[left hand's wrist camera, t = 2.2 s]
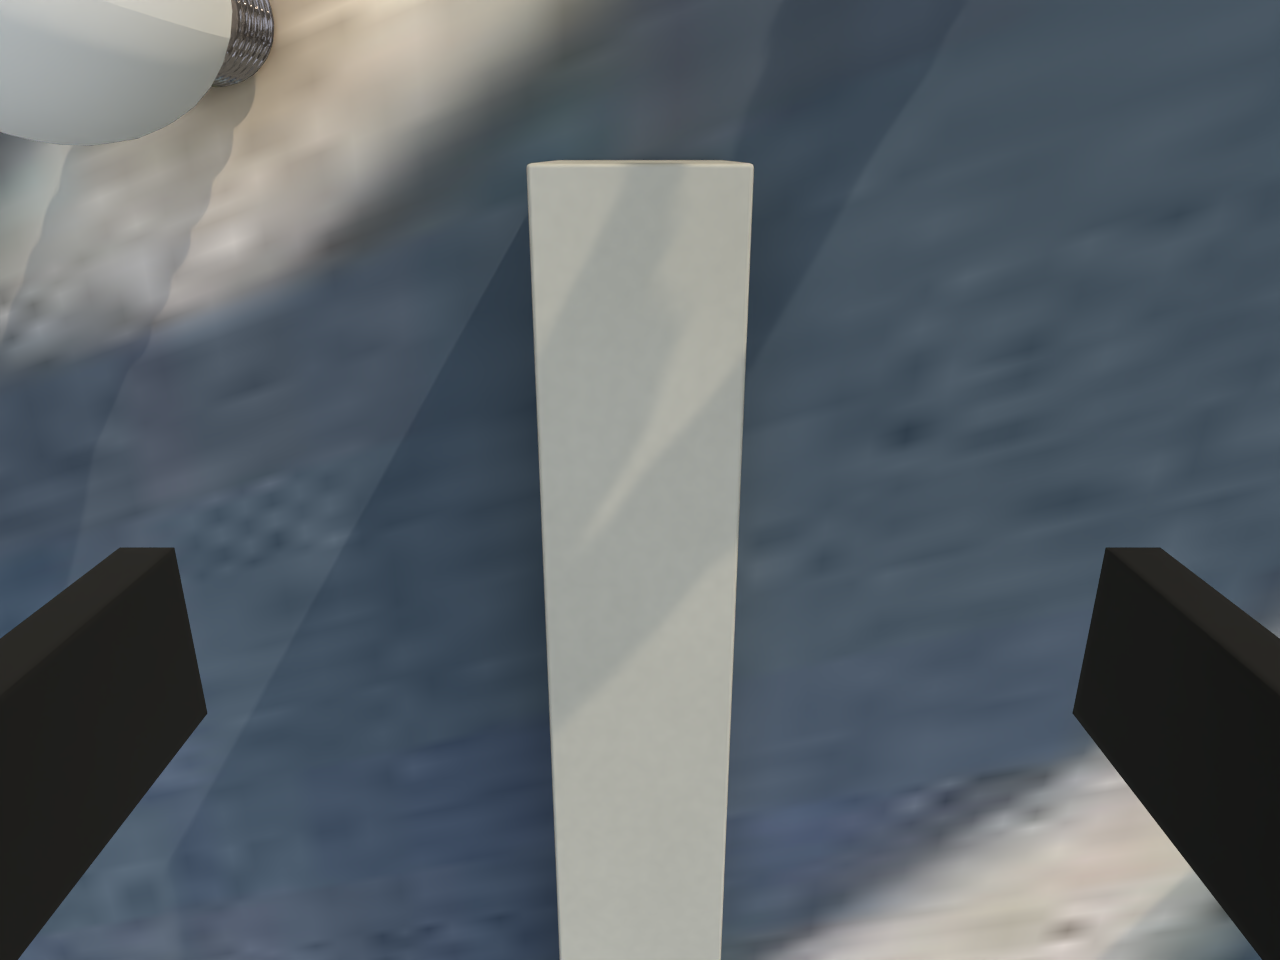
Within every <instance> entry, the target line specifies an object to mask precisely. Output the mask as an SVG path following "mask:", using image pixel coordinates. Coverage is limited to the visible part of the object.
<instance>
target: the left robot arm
mask: <svg viewBox="0 0 1280 960" xmlns="http://www.w3.org/2000/svg"><path fill="white" fill-rule="evenodd" d="M206 714H207V709H206V704H205V699H204V694H203V689H202V684H201V679H200V674H199V669H198V664H197V659H196V654H195V649H194V644H193V639H192V634H191V629H190V624H189V619H188V614H187V609H186V604H185V599H184V594H183V589H182V584H181V579H180V574H179V569H178V564H177V559H176V554H175V549H174V548H119V549H117V550H116V551H115V552H113V553H112V554H111V555H110V556H108V557H107V558H106V559H104V560H103V561H102V562H100V563H99V564H98V565H96V566H95V567H94V568H92V569H91V570H90V571H89V572H87V573H86V574H85V575H83V576H82V577H81V578H79V579H78V580H77V581H75V582H74V583H73V584H72V585H70V586H69V587H68V588H66V589H65V590H64V591H62V592H61V593H60V594H58V595H57V596H56V597H54V598H53V599H52V600H51V601H49V602H48V603H47V604H45V605H44V606H43V607H41V608H40V609H39V610H37V611H36V612H35V613H33V614H32V615H31V616H30V617H28V618H27V619H26V620H24V621H23V622H22V623H20V624H19V625H18V626H16V627H15V628H14V629H12V630H11V631H10V632H9V633H7V634H6V635H5V636H3V637H2V638H1V639H0V960H18V959H19V957H20V956H21V955H22V953H23V952H24V951H25V950H26V948H27V947H28V946H29V944H30V943H31V942H32V940H33V939H34V938H35V937H36V935H37V934H38V933H39V931H40V930H41V929H42V927H43V926H44V925H45V924H46V922H47V921H48V920H49V918H50V917H51V916H52V914H53V913H54V912H55V911H56V909H57V908H58V907H59V905H60V904H61V903H62V901H63V900H64V899H65V898H66V896H67V895H68V894H69V892H70V891H71V890H72V888H73V887H74V886H75V885H76V883H77V882H78V881H79V879H80V878H81V877H82V875H83V874H84V873H85V872H86V870H87V869H88V868H89V866H90V865H91V864H92V862H93V861H94V860H95V859H96V857H97V856H98V855H99V853H100V852H101V851H102V849H103V848H104V847H105V846H106V844H107V843H108V842H109V840H110V839H111V838H112V836H113V835H114V834H115V833H116V831H117V830H118V829H119V827H120V826H121V825H122V824H123V822H124V821H125V820H126V818H127V817H128V816H129V814H130V813H131V812H132V811H133V809H134V808H135V807H136V805H137V804H138V803H139V801H140V800H141V799H142V798H143V796H144V795H145V794H146V792H147V791H148V790H149V788H150V787H151V786H152V785H153V783H154V782H155V781H156V779H157V778H158V777H159V775H160V774H161V773H162V772H163V770H164V769H165V768H166V766H167V765H168V764H169V762H170V761H171V760H172V759H173V757H174V756H175V755H176V753H177V752H178V751H179V749H180V748H181V747H182V746H183V744H184V743H185V742H186V740H187V739H188V738H189V736H190V735H191V734H192V733H193V731H194V730H195V729H196V727H197V726H198V725H199V723H200V722H201V721H202V720H203V718H204V717H205V716H206ZM1073 714H1074V716H1075V717H1076V718H1077V720H1078V721H1079V722H1080V723H1081V725H1082V726H1083V727H1084V729H1085V730H1086V731H1087V733H1088V734H1089V735H1090V736H1091V738H1092V739H1093V740H1094V742H1095V743H1096V744H1097V746H1098V747H1099V748H1100V749H1101V751H1102V752H1103V753H1104V755H1105V756H1106V757H1107V759H1108V760H1109V761H1110V762H1111V764H1112V765H1113V766H1114V768H1115V769H1116V770H1117V772H1118V773H1119V774H1120V775H1121V777H1122V778H1123V779H1124V781H1125V782H1126V783H1127V785H1128V786H1129V787H1130V788H1131V790H1132V791H1133V792H1134V794H1135V795H1136V796H1137V798H1138V799H1139V800H1140V801H1141V803H1142V804H1143V805H1144V807H1145V808H1146V809H1147V811H1148V812H1149V813H1150V814H1151V816H1152V817H1153V818H1154V820H1155V821H1156V822H1157V824H1158V825H1159V826H1160V827H1161V829H1162V830H1163V831H1164V833H1165V834H1166V835H1167V836H1168V838H1169V839H1170V840H1171V842H1172V843H1173V844H1174V846H1175V847H1176V848H1177V849H1178V851H1179V852H1180V853H1181V855H1182V856H1183V857H1184V859H1185V860H1186V861H1187V862H1188V864H1189V865H1190V866H1191V868H1192V869H1193V870H1194V872H1195V873H1196V874H1197V875H1198V877H1199V878H1200V879H1201V881H1202V882H1203V883H1204V885H1205V886H1206V887H1207V888H1208V890H1209V891H1210V892H1211V894H1212V895H1213V896H1214V898H1215V899H1216V900H1217V901H1218V903H1219V904H1220V905H1221V907H1222V908H1223V909H1224V911H1225V912H1226V913H1227V914H1228V916H1229V917H1230V918H1231V920H1232V921H1233V922H1234V924H1235V925H1236V926H1237V927H1238V929H1239V930H1240V931H1241V933H1242V934H1243V935H1244V937H1245V938H1246V939H1247V940H1248V942H1249V943H1250V944H1251V946H1252V947H1253V948H1254V950H1255V951H1256V952H1257V953H1258V955H1259V956H1260V957H1261V959H1262V960H1280V639H1279V638H1278V637H1277V636H1275V635H1274V634H1273V633H1271V632H1270V631H1269V630H1268V629H1266V628H1265V627H1264V626H1262V625H1261V624H1260V623H1258V622H1257V621H1256V620H1254V619H1253V618H1252V617H1250V616H1249V615H1248V614H1247V613H1245V612H1244V611H1243V610H1241V609H1240V608H1239V607H1237V606H1236V605H1235V604H1233V603H1232V602H1231V601H1229V600H1228V599H1227V598H1226V597H1224V596H1223V595H1222V594H1220V593H1219V592H1218V591H1216V590H1215V589H1214V588H1212V587H1211V586H1210V585H1208V584H1207V583H1206V582H1205V581H1203V580H1202V579H1201V578H1199V577H1198V576H1197V575H1195V574H1194V573H1193V572H1191V571H1190V570H1189V569H1187V568H1186V567H1185V566H1184V565H1182V564H1181V563H1180V562H1178V561H1177V560H1176V559H1174V558H1173V557H1172V556H1170V555H1169V554H1168V553H1167V552H1165V551H1164V550H1163V549H1161V548H1106V549H1105V554H1104V559H1103V564H1102V569H1101V574H1100V579H1099V584H1098V589H1097V594H1096V599H1095V604H1094V609H1093V614H1092V619H1091V624H1090V629H1089V634H1088V639H1087V644H1086V649H1085V654H1084V659H1083V664H1082V669H1081V674H1080V679H1079V684H1078V689H1077V694H1076V699H1075V704H1074V709H1073Z"/></svg>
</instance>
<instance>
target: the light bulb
mask: <svg viewBox="0 0 1280 960" xmlns="http://www.w3.org/2000/svg"><path fill="white" fill-rule="evenodd" d="M273 34H274V21H273V15H272V10H271V6H270V3H269V0H0V132H2V133H5V134H9V135H13V136H17V137H21V138H26V139H30V140H34V141H39V142H46V143H53V144H61V145H83V146H92V145H100V144H107V143H114V142H120V141H125V140H131V139H137V138H140V137H142V136H145V135H147V134H149V133H152V132H154V131H156V130H159V129H161V128H163V127H165V126H167V125H169V124H170V123H172V122H174V121H175V120H177V119H178V118H179V117H181V116H182V115H184V114H185V113H186V112H188V111H189V110H190V109H192V108H193V107H194V106H195V105H196V104H197V103H198V102H199V100H200V99H201V98H202V97H203V96H204V95H205V93H206V92H207V91H208V90H209V89H210V87H211V86H212V87H216V86H229V85H233V84H236V83H239V82H242V81H244V80H245V79H247V78H249V77H250V76H252V75H253V74H254V73H256V72H257V71H258V69H259V68H260V67H261V66H262V65H263V63H264V62H265V60H266V59H267V57H268V54H269V52H270V49H271V46H272V42H273Z"/></svg>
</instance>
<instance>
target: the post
mask: <svg viewBox="0 0 1280 960" xmlns="http://www.w3.org/2000/svg"><path fill="white" fill-rule="evenodd" d="M753 175H754V167H753V165H752V164H750V163H742V162H733V161H724V160H556V161H547V162H538V163H530V164H528V165H527V188H528V212H529V236H530V260H531V284H532V308H533V331H534V355H535V379H536V403H537V427H538V451H539V475H540V499H541V523H542V547H543V570H544V594H545V618H546V642H547V666H548V690H549V714H550V738H551V762H552V786H553V810H554V833H555V857H556V881H557V905H558V929H559V953H560V960H721V937H722V914H723V890H724V866H725V842H726V818H727V795H728V771H729V747H730V723H731V699H732V675H733V652H734V628H735V604H736V580H737V556H738V532H739V509H740V485H741V461H742V437H743V413H744V390H745V366H746V342H747V318H748V294H749V270H750V247H751V223H752V199H753Z"/></svg>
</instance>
